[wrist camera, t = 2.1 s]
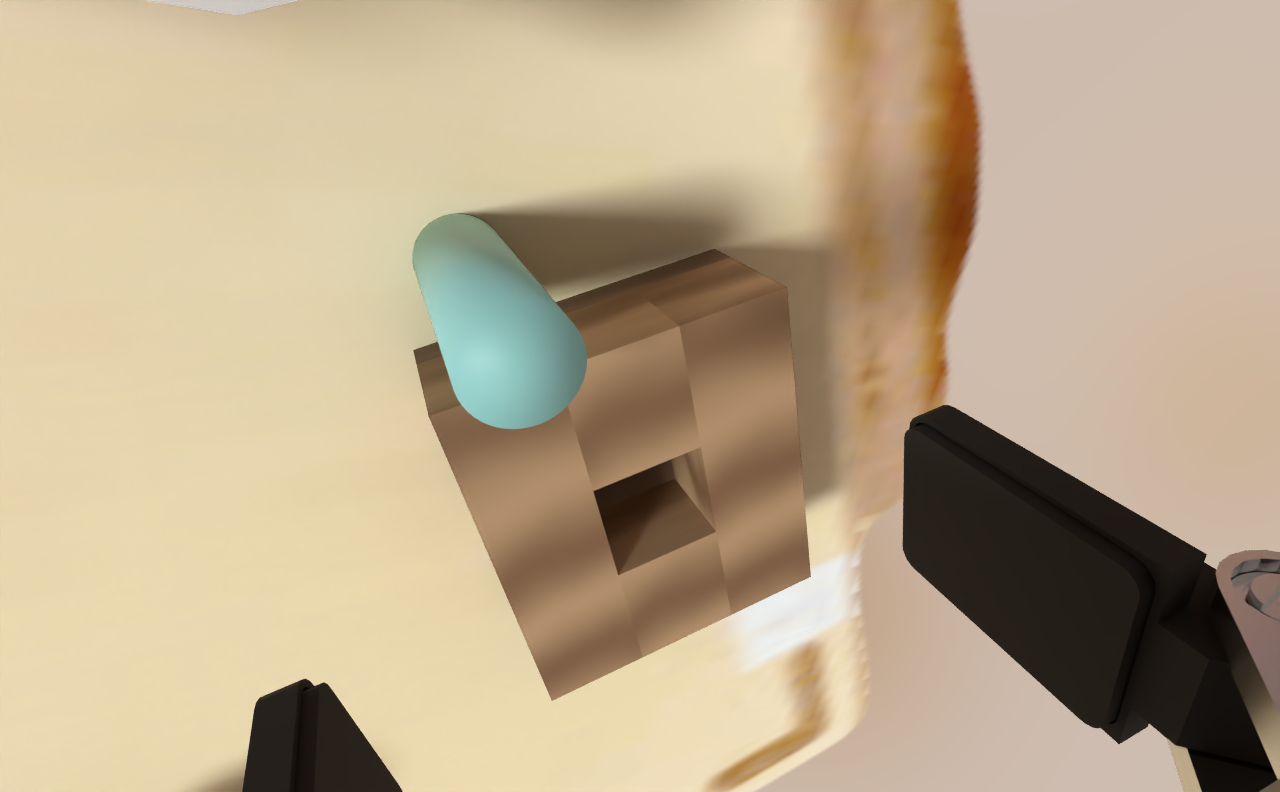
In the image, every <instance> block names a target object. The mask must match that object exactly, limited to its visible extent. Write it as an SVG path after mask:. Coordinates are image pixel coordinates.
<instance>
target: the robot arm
mask: <svg viewBox="0 0 1280 792" xmlns="http://www.w3.org/2000/svg"><path fill="white" fill-rule="evenodd" d="M903 551H904V554H905V556H906V558H907V560H908V561H909V563H910V564H911V566H912V567H913V568H914V569H915V570H917V572H919V573H920V574H921V575H922V576H923V577H924V578H925V579H926V580H927V581H929V582H930V583H931V584H932V585H933V586H934V587H935V588H936V589H937V590H938V591H939V592H941V593H942V594H943V595H944V596H945V597H946V598H947V599H948V600H949V601H950V602H952V603H953V604H954V605H955V606H956V607H957V608H958V609H959V610H960V611H961V612H963V613H964V614H965V615H966V616H967V617H968V618H969V619H970V620H971V621H972V622H974V623H975V624H976V625H977V626H978V627H979V628H980V629H981V630H982V631H983V632H985V633H986V634H987V635H988V636H989V637H990V638H991V639H992V640H993V641H994V642H996V643H997V644H998V645H999V646H1000V647H1001V648H1002V649H1003V650H1004V651H1005V652H1007V653H1008V654H1009V655H1010V656H1011V657H1012V658H1013V659H1014V660H1015V661H1016V662H1018V663H1019V664H1020V665H1021V666H1022V667H1023V668H1024V669H1025V670H1026V671H1027V672H1029V673H1030V674H1031V675H1032V676H1033V677H1034V678H1035V679H1036V680H1037V681H1038V682H1040V683H1041V684H1042V685H1043V686H1044V687H1045V688H1046V689H1047V690H1048V691H1050V692H1051V693H1052V694H1053V695H1054V696H1055V697H1056V698H1057V699H1058V700H1059V701H1060V702H1062V703H1063V704H1064V705H1065V706H1066V707H1067V708H1068V709H1069V710H1071V712H1073V713H1074V714H1075V715H1076V716H1077V717H1078V718H1079V719H1080V720H1082V721H1083V722H1084V723H1086V724H1087V725H1089V726H1091V727H1094V728H1102V729H1103V730H1104V731H1105V732H1106V733H1107V734H1108V735H1109V736H1110V737H1112V738H1113V739H1114V740H1115V741H1116V742H1117V743H1118V744H1120V743H1122V742H1123V741H1125V740H1127V739H1128V738H1130V737H1132V736H1133V735H1135V734H1136V733H1138V732H1140V731H1141V730H1143V729H1145V728H1146V727H1148V724H1151V725H1152V726H1153V727H1154V728H1156V729H1157V730H1158V731H1159V732H1160V733H1161V734H1162V735H1164V736H1165V737H1166V738H1167V740H1168V743H1169V746H1170V750H1171V753H1172V756H1173V759H1174V762H1175V765H1176V769H1177V772H1178V775H1179V778H1180V781H1181V784H1182V787H1183V791H1184V792H1280V552H1274V551H1268V550H1254V551H1253V550H1251V551H1250V550H1249V551H1242V552H1239V553H1235V554H1231V555H1229V556H1228V557H1226V558H1225V559H1223V560H1222V561H1221V562H1220V563H1219V565H1218V568H1217V570H1216V569H1214V568H1213V567H1211V566H1209V565H1208V564H1206V563H1204V560H1205V558H1206V554H1205V553H1203V552H1202V551H1200V550H1198V549H1197V548H1195V547H1193V546H1191V545H1190V544H1188V543H1186V542H1185V541H1183V540H1181V539H1179V538H1178V537H1176V536H1174V535H1172V534H1171V533H1169V532H1167V531H1166V530H1164V529H1162V528H1161V527H1159V526H1157V525H1155V524H1154V523H1152V522H1150V521H1148V520H1147V519H1145V518H1143V517H1142V516H1140V515H1138V514H1136V513H1135V512H1133V511H1131V510H1130V509H1128V508H1126V507H1124V506H1123V505H1121V504H1119V503H1118V502H1116V501H1114V500H1112V499H1111V498H1109V497H1107V496H1106V495H1104V494H1102V493H1100V492H1099V491H1097V490H1095V489H1094V488H1092V487H1090V486H1088V485H1087V484H1085V483H1083V482H1082V481H1080V480H1078V479H1076V478H1075V477H1073V476H1071V475H1070V474H1068V473H1066V472H1064V471H1063V470H1061V469H1059V468H1058V467H1056V466H1054V465H1052V464H1051V463H1049V462H1047V461H1046V460H1044V459H1042V458H1040V457H1039V456H1037V455H1035V454H1033V453H1032V452H1030V451H1028V450H1027V449H1025V448H1023V447H1021V446H1020V445H1018V444H1016V443H1015V442H1013V441H1011V440H1009V439H1008V438H1006V437H1004V436H1003V435H1001V434H999V433H997V432H996V431H994V430H992V429H990V428H989V427H987V426H985V425H983V424H982V423H980V422H979V421H977V420H975V419H973V418H972V417H970V416H968V415H967V414H965V413H963V412H961V411H960V410H957V409H956V408H954V407H951V406H949V405H943V406H940V407H938V408H936V409H933V410H931V411H929V412H926V413H924V414H922V415H919V416H917V417H915V418H913V419H912V421H911V422H910V428H909V430H907V432H906V433H905V437H904V497H903ZM242 792H402V790H401V788H400V786H399V785H398V783H397V782H396V780H395V779H394V778H393V776H392V775H391V773H390V772H389V770H388V769H387V768H386V766H385V765H384V763H383V762H382V760H381V759H380V758H379V756H378V755H377V753H376V752H375V750H374V749H373V748H372V746H371V745H370V743H369V742H368V740H367V739H366V738H365V736H364V735H363V733H362V732H361V731H360V729H359V728H358V726H357V725H356V723H355V722H354V721H353V719H352V718H351V716H350V715H349V713H348V712H347V711H346V709H345V708H344V706H343V705H342V703H341V702H340V701H339V699H338V698H337V696H336V695H335V693H334V692H333V691H332V689H331V688H330V687H329V685H328V684H326V683H321V684H319V685H317V686H314V685H313V684H312V683H311V682H310V681H309V680H307V679H303V680H300V681H298V682H295V683H293V684H291V685H288V686H286V687H284V688H281V689H279V690H277V691H274V692H272V693H270V694H267V695H265V696H263V697H260V698H259V699H258V701H257V702H256V705H255V709H254V715H253V722H252V729H251V736H250V743H249V750H248V756H247V763H246V770H245V777H244V784H243V791H242Z"/></svg>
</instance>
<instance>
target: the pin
mask: <svg viewBox="0 0 1280 792" xmlns="http://www.w3.org/2000/svg"><path fill="white" fill-rule="evenodd" d="M413 266H414V270H415V273H416V276H417V279H418V283H419V286H420V289H421V292H422V295H423V298H424V301H425V304H426V307H427V310H428V313H429V316H430V319H431V322H432V325H433V329H434V332H435V335H436V338H437V341H438V344H439V347H440V350H441V353H442V356H443V359H444V362H445V365H446V368H447V371H448V375H449V378H450V381H451V384H452V387H453V390H454V393H455V395H456V397H457V399H458V400H459V402H460V403H461V405H462V406H463V407H464V408H465V410H466V411H467V412H468V413H470V414H471V415H472V416H473V417H475V418H476V419H478V420H479V421H481V422H483V423H486V424H488V425H491V426H494V427H497V428H504V429H522V428H528V427H532V426H536V425H539V424H541V423H543V422H546V421H548V420H550V419H551V418H553V417H555V416H556V415H557V414H559V413H560V412H562V411H563V410H564V409H565V408H566V407H567V406H568V405H569V404H570V403H571V401H572V400H573V399H574V398H575V396H576V395H577V393H578V391H579V389H580V387H581V385H582V383H583V380H584V377H585V373H586V367H587V353H586V348H585V344H584V341H583V338H582V336H581V334H580V332H579V330H578V329H577V328H576V326H575V325H574V324H573V322H572V321H571V320H570V319H569V318H568V316H567V315H566V314H565V313H564V312H563V311H562V309H561V308H560V307H559V306H558V305H557V303H556V302H555V301H554V300H553V299H552V298H551V296H550V295H549V294H548V293H547V292H546V291H545V289H544V288H543V287H542V286H541V285H540V283H539V282H538V281H537V280H536V279H535V278H534V276H533V275H532V274H531V273H530V272H529V270H528V269H527V268H526V267H525V266H524V265H523V263H522V262H521V261H520V260H519V259H518V257H517V256H516V255H515V254H514V253H513V252H512V250H511V249H510V248H509V247H508V246H507V244H506V243H505V242H504V241H503V240H502V239H501V237H500V236H499V235H498V234H497V233H496V232H495V230H494V229H493V228H492V227H491V226H490V225H488V224H487V223H486V222H484V221H483V220H481V219H479V218H477V217H474V216H471V215H466V214H450V215H445V216H442V217H440V218H437V219H436V220H434V221H432V222H431V223H429V224H428V225H427V226H426V227H425V228H424V229H423V230H422V231H421V233H420V234H419V236H418V238H417V240H416V242H415V245H414V249H413Z"/></svg>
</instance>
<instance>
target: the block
mask: <svg viewBox="0 0 1280 792" xmlns="http://www.w3.org/2000/svg"><path fill="white" fill-rule="evenodd" d="M556 303H557V305H558V306H559V307H560V308H561V309H562V311H563V312H564V313H565V314H566V315H567V316H568V318H569V319H570V320H571V321H572V322H573V324H574V325H575V326H576V328H577V329H578V330H579V332H580V334H581V336H582V338H583V341H584V344H585V348H586V353H587V367H586V373H585V377H584V380H583V383H582V385H581V387H580V389H579V391H578V393H577V395H576V396H575V398H574V399H573V400H572V401H571V403H570V404H569V405H568V406H567V407H566V408H565V409H564V410H563V411H562V412H560V413H559V414H557V415H556V416H555V417H553V418H551V419H550V420H548V421H546V422H543V423H541V424H539V425H536V426H532V427H528V428H522V429H504V428H497V427H494V426H491V425H488V424H486V423H483V422H481V421H479V420H478V419H476V418H475V417H473V416H472V415H471V414H470V413H468V412H467V411H466V410H465V408H464V407H463V406H462V405H461V403H460V402H459V400H458V399H457V397H456V395H455V393H454V390H453V387H452V384H451V381H450V378H449V375H448V371H447V368H446V365H445V362H444V359H443V356H442V353H441V350H440V347H439V344H438V342H437V343H434V344H431V345H428V346H425V347H422V348H419V349H416V350H413V351H414V355H415V359H416V364H417V368H418V372H419V376H420V381H421V385H422V389H423V393H424V398H425V402H426V406H427V411H428V415H429V418H430V420H431V422H432V425H433V427H434V429H435V432H436V434H437V436H438V439H439V441H440V443H441V446H442V448H443V450H444V453H445V455H446V457H447V459H448V462H449V464H450V466H451V469H452V471H453V473H454V476H455V478H456V480H457V483H458V485H459V487H460V490H461V492H462V494H463V496H464V499H465V501H466V503H467V506H468V508H469V510H470V513H471V515H472V517H473V520H474V522H475V524H476V526H477V529H478V531H479V533H480V536H481V538H482V540H483V543H484V545H485V547H486V550H487V552H488V554H489V557H490V559H491V561H492V563H493V566H494V568H495V570H496V573H497V575H498V577H499V580H500V582H501V584H502V587H503V589H504V591H505V593H506V596H507V598H508V600H509V603H510V605H511V607H512V610H513V612H514V614H515V617H516V619H517V621H518V624H519V626H520V628H521V630H522V633H523V635H524V637H525V640H526V642H527V644H528V647H529V649H530V651H531V654H532V656H533V658H534V660H535V663H536V665H537V667H538V670H539V672H540V674H541V677H542V679H543V681H544V684H545V686H546V688H547V691H548V693H549V695H550V697H551V700H552V701H553V700H555V699H557V698H559V697H561V696H563V695H565V694H567V693H569V692H571V691H573V690H575V689H578V688H580V687H582V686H584V685H586V684H588V683H590V682H592V681H594V680H596V679H598V678H600V677H603V676H605V675H607V674H609V673H611V672H613V671H615V670H617V669H619V668H621V667H623V666H625V665H628V664H630V663H632V662H634V661H636V660H638V659H640V658H642V657H644V656H646V655H648V654H650V653H653V652H655V651H657V650H659V649H661V648H663V647H665V646H667V645H669V644H671V643H673V642H675V641H678V640H680V639H682V638H684V637H686V636H688V635H690V634H692V633H694V632H696V631H698V630H700V629H703V628H705V627H707V626H709V625H711V624H713V623H715V622H717V621H719V620H721V619H723V618H725V617H728V616H730V615H732V614H734V613H736V612H738V611H740V610H742V609H744V608H746V607H748V606H750V605H753V604H755V603H757V602H759V601H761V600H763V599H765V598H767V597H769V596H771V595H773V594H775V593H778V592H780V591H782V590H784V589H786V588H788V587H790V586H792V585H794V584H796V583H798V582H800V581H803V580H805V579H807V578H809V577H811V574H810V562H809V550H808V538H807V526H806V513H805V501H804V489H803V477H802V465H801V453H800V441H799V429H798V417H797V405H796V393H795V381H794V369H793V357H792V345H791V333H790V321H789V309H788V297H787V287H785V286H783V285H781V284H780V283H778V282H776V281H774V280H772V279H770V278H768V277H766V276H764V275H763V274H761V273H759V272H757V271H755V270H753V269H751V268H749V267H747V266H746V265H744V264H742V263H740V262H738V261H736V260H734V259H732V258H730V257H729V256H727V255H725V254H723V253H721V252H719V251H717V250H715V249H714V250H711V251H708V252H705V253H702V254H699V255H696V256H693V257H690V258H687V259H684V260H681V261H678V262H675V263H672V264H669V265H666V266H663V267H660V268H657V269H654V270H651V271H648V272H645V273H642V274H639V275H636V276H633V277H630V278H627V279H624V280H621V281H618V282H615V283H612V284H610V285H607V286H604V287H601V288H598V289H595V290H592V291H589V292H586V293H583V294H580V295H577V296H574V297H571V298H568V299H565V300H562V301H559V302H556Z"/></svg>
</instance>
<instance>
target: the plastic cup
mask: <svg viewBox="0 0 1280 792" xmlns="http://www.w3.org/2000/svg"><path fill="white" fill-rule="evenodd" d="M146 1H152V2H158V3H164V4H170V5H176V6H182V7H188V8H195V9H201V10H207V11H213V12H219V13H225V14H231V15H237V16H238V15H242V14H246V13H250V12H254V11H258V10H262V9H266V8H270V7H274V6H278V5H282V4H286V3H290V2H294V1H298V0H146Z"/></svg>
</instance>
